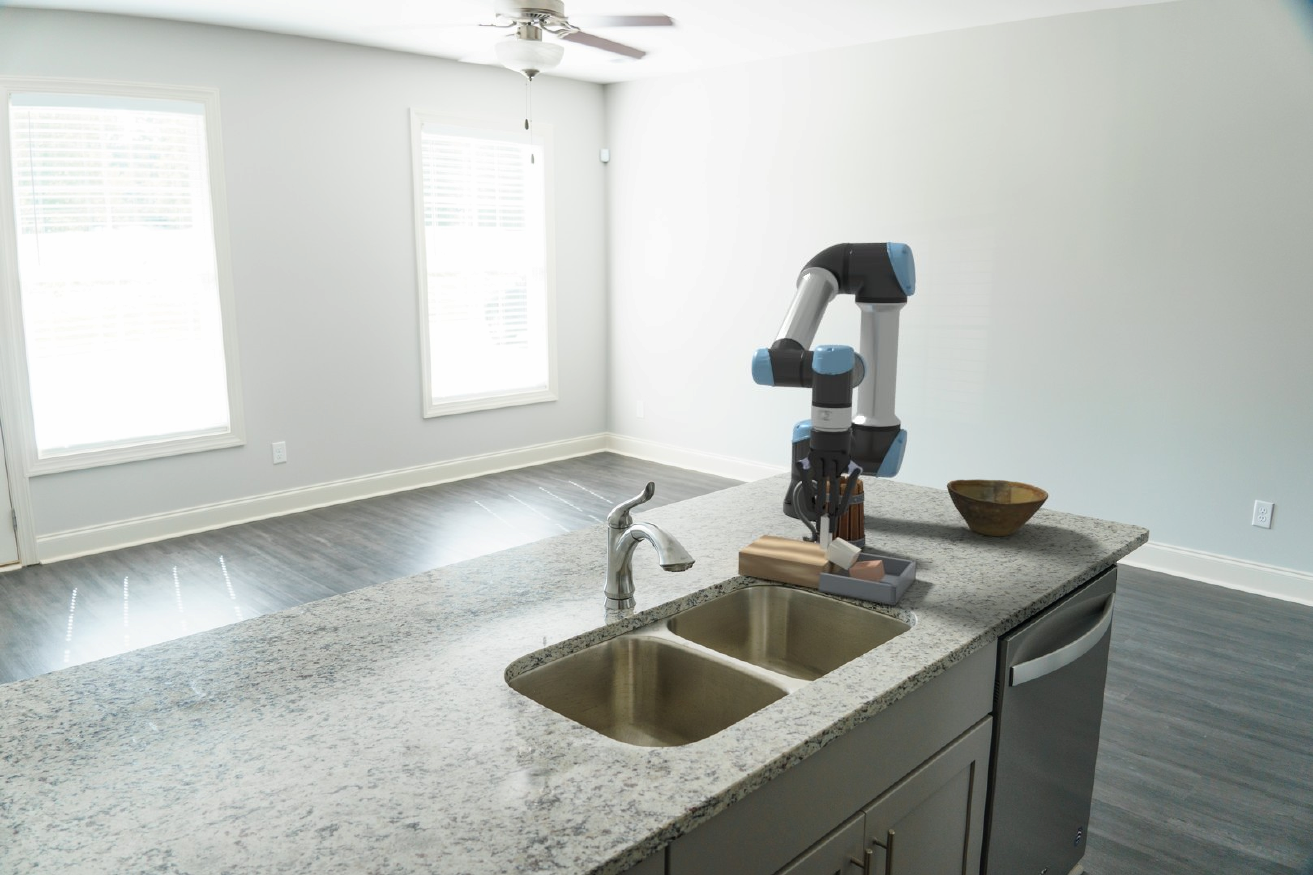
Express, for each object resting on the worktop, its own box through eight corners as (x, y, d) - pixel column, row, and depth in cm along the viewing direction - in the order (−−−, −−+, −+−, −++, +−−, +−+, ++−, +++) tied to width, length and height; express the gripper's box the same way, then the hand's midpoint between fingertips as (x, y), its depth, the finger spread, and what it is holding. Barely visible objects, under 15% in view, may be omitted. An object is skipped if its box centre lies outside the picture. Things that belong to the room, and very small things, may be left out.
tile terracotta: (881, 560, 168) (885, 575, 168) (856, 562, 171) (859, 577, 171) (874, 567, 164) (877, 583, 164) (848, 569, 167) (852, 585, 167)
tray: (845, 566, 178) (845, 550, 177) (915, 578, 171) (916, 561, 171) (818, 591, 164) (819, 573, 164) (894, 605, 158) (895, 586, 157)
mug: (862, 541, 195) (865, 475, 192) (868, 556, 185) (872, 486, 182) (790, 538, 196) (792, 473, 194) (792, 553, 186) (795, 484, 183)
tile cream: (832, 550, 173) (838, 537, 172) (855, 562, 171) (861, 549, 170) (823, 557, 169) (829, 544, 168) (847, 570, 167) (853, 556, 166)
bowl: (1053, 526, 207) (1056, 484, 205) (1035, 552, 188) (1039, 506, 186) (957, 512, 218) (960, 472, 217) (931, 535, 200) (934, 492, 198)
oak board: (763, 555, 185) (764, 534, 184) (842, 568, 177) (843, 547, 176) (738, 573, 174) (738, 551, 173) (821, 589, 166) (822, 566, 165)
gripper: (790, 427, 166) (786, 548, 171) (858, 434, 160) (852, 559, 165) (804, 422, 173) (800, 538, 177) (870, 428, 167) (864, 548, 171)
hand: (825, 548), depth 171 cm, fingers closed
